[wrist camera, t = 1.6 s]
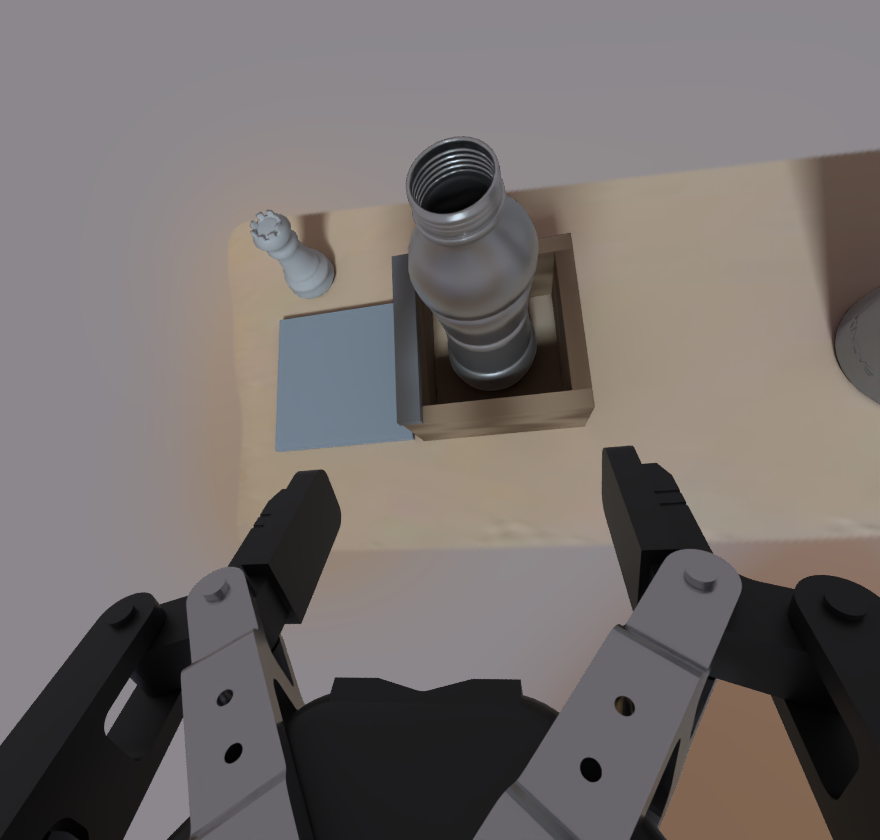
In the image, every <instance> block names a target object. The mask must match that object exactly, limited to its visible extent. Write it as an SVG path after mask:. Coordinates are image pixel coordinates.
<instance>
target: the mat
mask: <svg viewBox="0 0 880 840" xmlns="http://www.w3.org/2000/svg"><path fill="white" fill-rule="evenodd" d="M413 439H415V438H414V433H413V432H411V431H410V430H409V429H407V428H406V427H405V426H400V425H399V424H397V412H396V379H395V346H394V313H393V303H390V304H383V305H377V306H370V307H364V308H357V309H351V310H344V311H338V312H331V313H324V314H318V315H311V316H305V317H298V318H292V319H285V320H280V331H279V360H278V389H277V418H276V447H275V451H278V452H283V451H294V450H305V449H316V448H327V447H337V446H348V445H359V444H370V443H381V442H392V441H403V440H413Z"/></svg>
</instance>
